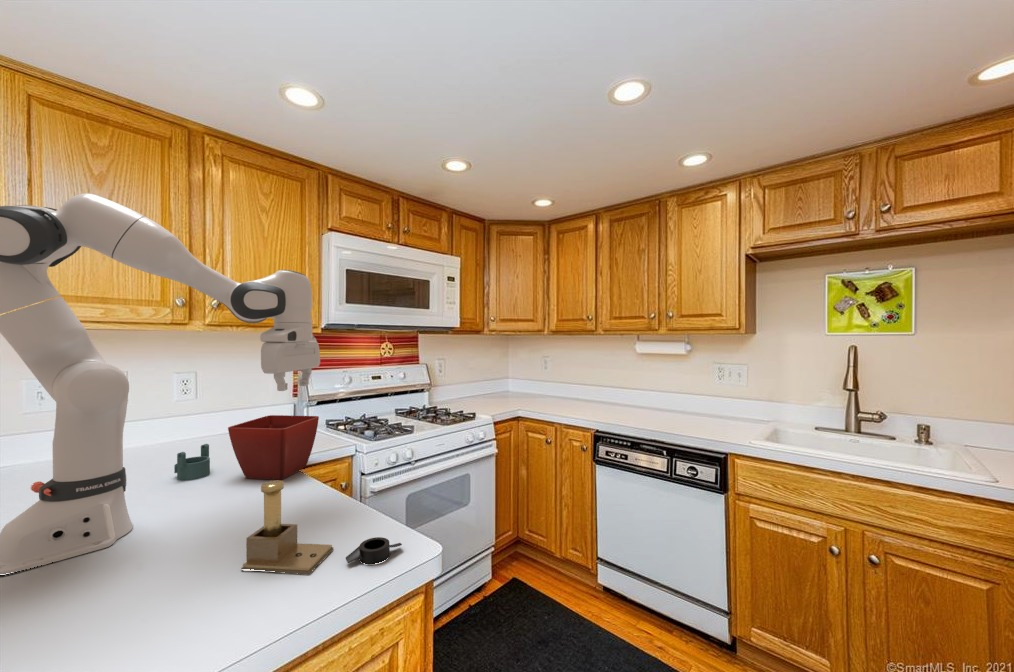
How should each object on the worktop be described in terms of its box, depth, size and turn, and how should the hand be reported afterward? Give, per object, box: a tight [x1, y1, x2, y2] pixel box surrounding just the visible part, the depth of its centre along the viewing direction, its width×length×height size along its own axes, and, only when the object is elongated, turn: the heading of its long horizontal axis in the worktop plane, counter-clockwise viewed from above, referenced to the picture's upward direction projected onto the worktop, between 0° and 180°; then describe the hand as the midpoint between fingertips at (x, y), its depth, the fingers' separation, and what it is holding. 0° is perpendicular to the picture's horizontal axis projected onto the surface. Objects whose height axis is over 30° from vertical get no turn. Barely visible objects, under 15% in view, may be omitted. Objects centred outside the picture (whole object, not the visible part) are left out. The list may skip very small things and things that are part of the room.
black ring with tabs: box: [345, 536, 403, 564], centre depth 85 cm, size 8×10×3 cm
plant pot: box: [227, 414, 320, 481], centre depth 136 cm, size 19×19×17 cm
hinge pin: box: [260, 479, 285, 537], centre depth 84 cm, size 4×4×14 cm
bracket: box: [174, 443, 211, 482], centre depth 133 cm, size 9×9×9 cm
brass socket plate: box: [240, 523, 334, 575], centre depth 84 cm, size 9×14×6 cm, turn 85°
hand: (293, 388), depth 108 cm, fingers open, 8 cm apart
